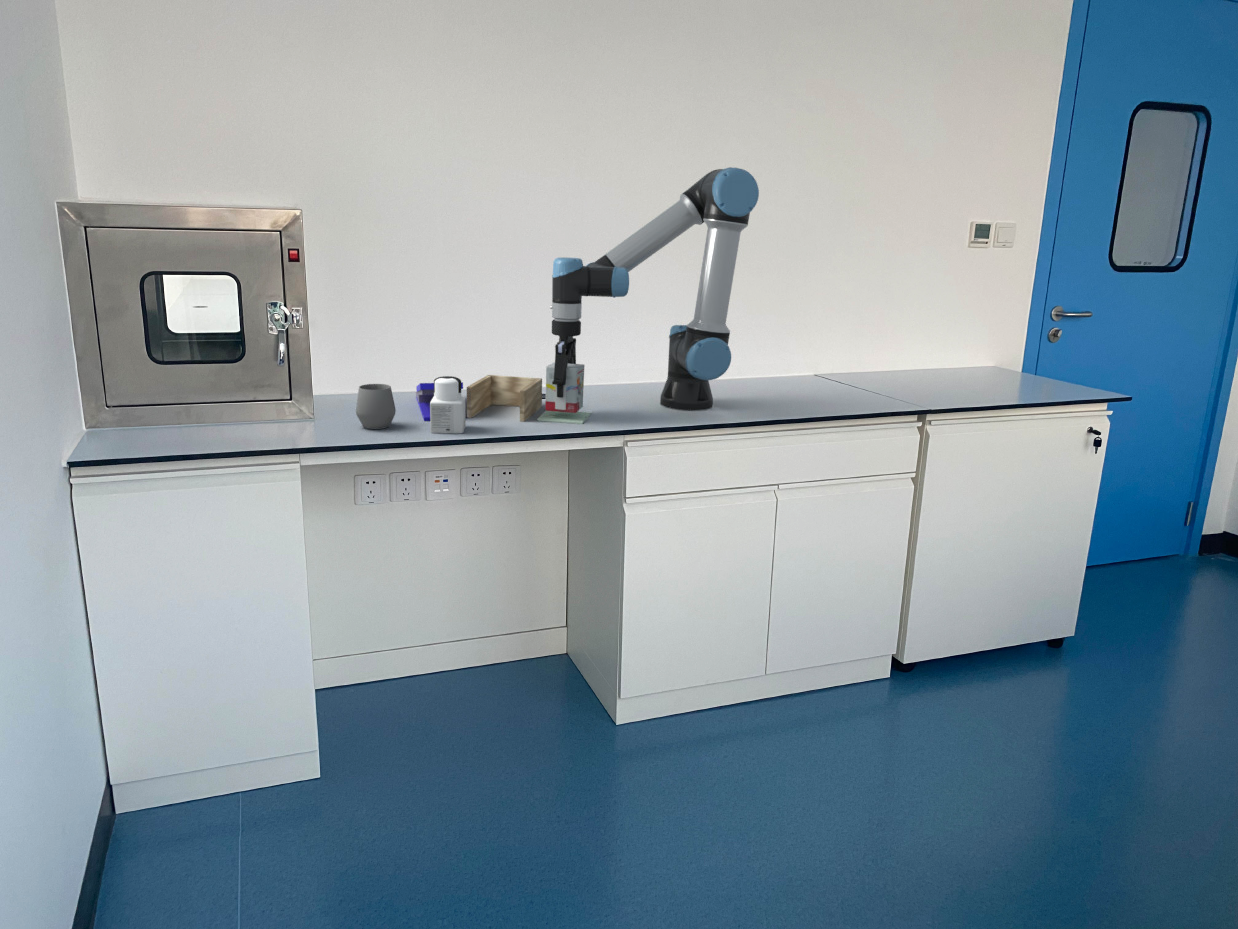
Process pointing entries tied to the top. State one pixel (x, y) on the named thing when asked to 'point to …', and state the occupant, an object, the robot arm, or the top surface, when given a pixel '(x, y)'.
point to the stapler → (426, 398)
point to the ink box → (572, 389)
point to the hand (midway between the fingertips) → (564, 405)
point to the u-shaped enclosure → (505, 394)
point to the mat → (564, 417)
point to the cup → (375, 406)
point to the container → (447, 406)
